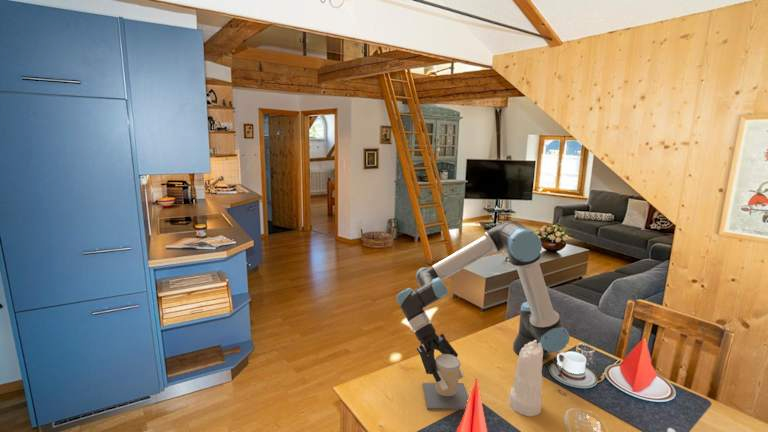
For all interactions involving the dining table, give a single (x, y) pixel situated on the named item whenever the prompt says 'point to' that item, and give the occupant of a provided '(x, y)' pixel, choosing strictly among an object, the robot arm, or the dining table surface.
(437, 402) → the charcoal mat
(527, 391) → the decorative vase
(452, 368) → the coffee cup
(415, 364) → the dining table surface
